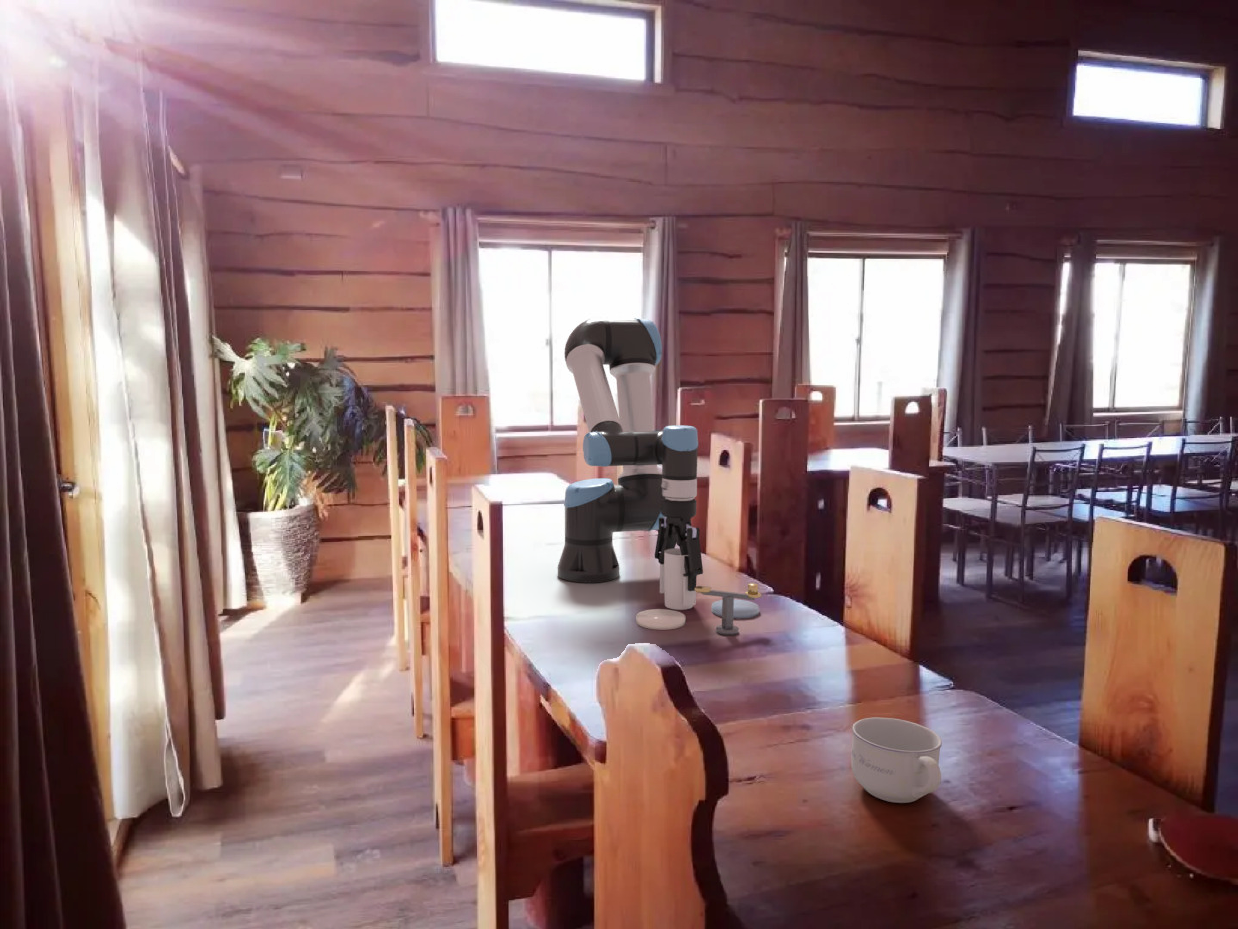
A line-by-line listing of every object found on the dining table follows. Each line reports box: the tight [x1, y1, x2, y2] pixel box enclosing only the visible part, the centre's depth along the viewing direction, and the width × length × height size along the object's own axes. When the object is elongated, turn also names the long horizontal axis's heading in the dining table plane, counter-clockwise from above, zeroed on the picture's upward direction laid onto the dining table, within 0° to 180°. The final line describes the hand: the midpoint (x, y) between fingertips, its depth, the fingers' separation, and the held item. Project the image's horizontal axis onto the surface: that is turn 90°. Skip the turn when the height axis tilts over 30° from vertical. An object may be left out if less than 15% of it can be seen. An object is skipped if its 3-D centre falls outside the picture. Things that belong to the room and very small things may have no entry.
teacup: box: [850, 716, 943, 804], centre depth 111 cm, size 14×11×8 cm
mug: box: [663, 547, 694, 611], centre depth 194 cm, size 10×7×12 cm, turn 10°
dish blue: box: [711, 598, 760, 619], centre depth 189 cm, size 10×10×1 cm
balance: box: [695, 582, 762, 637], centre depth 175 cm, size 4×15×10 cm, turn 116°
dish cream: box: [635, 608, 686, 631], centre depth 181 cm, size 10×10×1 cm
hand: (677, 598), depth 194 cm, fingers closed on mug, 10 cm apart
